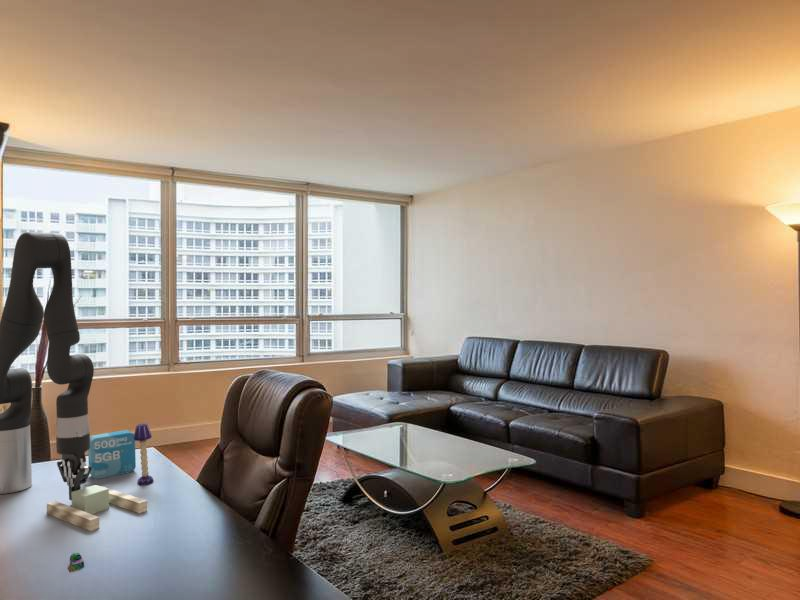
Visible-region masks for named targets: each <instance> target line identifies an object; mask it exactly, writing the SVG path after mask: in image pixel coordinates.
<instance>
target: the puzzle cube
mask: <svg viewBox="0 0 800 600" xmlns="http://www.w3.org/2000/svg"><path fill="white" fill-rule="evenodd" d="M80 568H81V569H82V568H85V561H84V559H83V557H82V555H81V554H80V552H78V551H77V552H73V553H72V554H71V555H70V557H69V565H68V567H67V571H68V572H69V573H72V572H77V571H80Z"/></svg>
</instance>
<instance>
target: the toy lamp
mask: <svg viewBox="0 0 800 600" xmlns="http://www.w3.org/2000/svg"><path fill="white" fill-rule="evenodd" d="M133 434H134V440H135V442H136V441H137V442H139V444H140V445H139V449H140V454H139V455H140V465H141V469H140V470H141V476H140V477H139V478H138V479H137V485H138V484H139V485H140V486H145V485H151V484H153V483H154V477H153V476H151V475H150V474H149V466H148V450H147V448H148V446H147V440H150V439H151V438H152V437H153V436H152V433H151V430H150V427H149V425H148V424H147V423H140V424H137V425H136V426H135V430H134V433H133Z"/></svg>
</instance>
